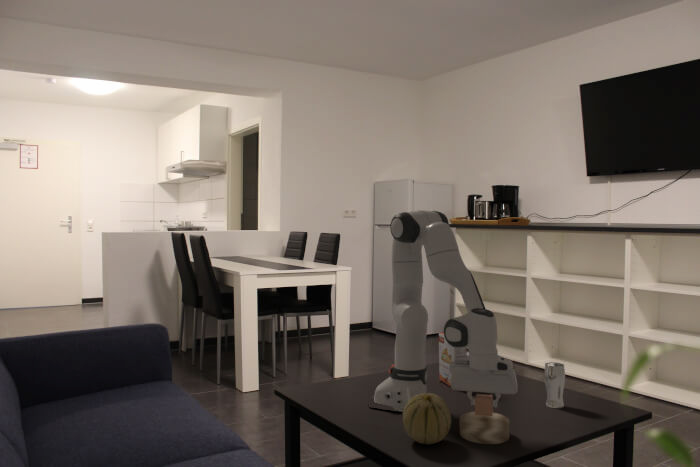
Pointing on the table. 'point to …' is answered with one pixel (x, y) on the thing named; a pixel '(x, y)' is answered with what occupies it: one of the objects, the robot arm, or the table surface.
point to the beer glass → (554, 384)
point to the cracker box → (448, 358)
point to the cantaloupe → (427, 418)
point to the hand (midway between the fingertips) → (484, 406)
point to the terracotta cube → (483, 405)
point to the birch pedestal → (484, 428)
